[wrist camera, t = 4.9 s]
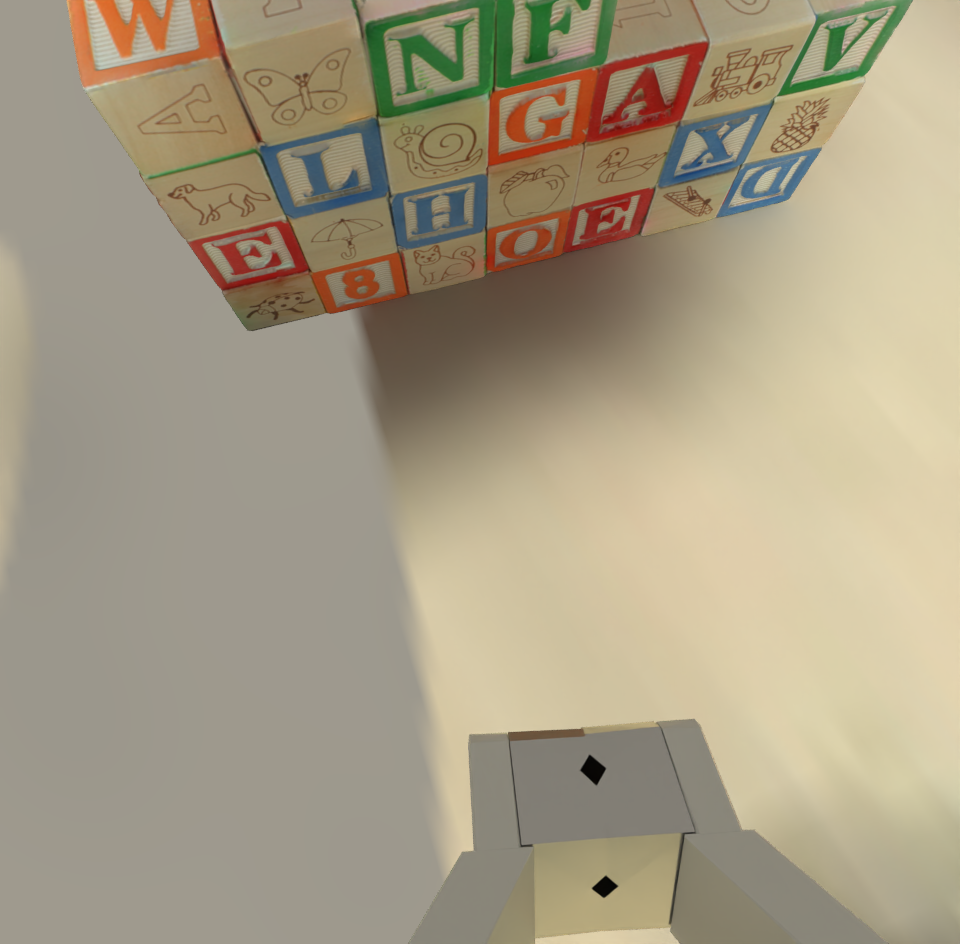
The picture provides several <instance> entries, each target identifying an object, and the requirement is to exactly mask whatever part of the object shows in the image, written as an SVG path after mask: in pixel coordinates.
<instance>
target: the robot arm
mask: <svg viewBox="0 0 960 944" xmlns="http://www.w3.org/2000/svg"><path fill="white" fill-rule="evenodd" d="M468 750H469V768H470V787H471V806H472V825H473V844H474V851H466V852H462V853H461V855H460V856H459V858H458V860H457V862H456V863H455V865H454V867H453V868H452V870H451V872H450V873H449V875H448V877H447V878H446V880H445V882H444V884H443V885H442V887H441V889H440V890H439V892H438V894H437V895H436V897H435V899H434V900H433V902H432V904H431V906H430V907H429V909H428V911H427V912H426V914H425V916H424V917H423V919H422V921H421V923H420V924H419V926H418V928H417V929H416V931H415V933H414V935H413V936H412V938H411V939H410V941H409V943H408V944H535V938H543V937H552V936H561V935H570V934H579V933H588V932H597V931H612V930H631V929H651V928H670V927H671V929H670V932H671V933H672V934H673V935H674V937H675V938H676V939H677V940H678V942H679V943H680V944H889V943H888V942H887V941H885V940H884V939H883V938H882V937H881V936H879V935H878V934H877V933H876V932H875V931H874V930H872V929H871V928H870V927H869V926H868V925H866V924H865V923H864V922H863V921H862V920H861V919H859V918H858V917H857V916H856V915H855V914H853V913H852V912H851V911H850V910H849V909H848V908H846V907H845V906H844V905H843V904H842V903H840V902H839V901H838V900H837V899H836V898H835V897H833V896H832V895H831V894H830V893H829V892H828V891H826V890H825V889H824V888H823V887H822V886H820V885H819V884H818V883H817V882H816V881H815V880H813V879H812V878H811V877H810V876H809V875H807V874H806V873H805V872H804V871H803V870H802V869H800V868H799V867H798V866H797V865H796V864H794V863H793V862H792V861H791V860H790V859H789V858H787V857H786V856H785V855H784V854H783V853H781V852H780V851H779V850H778V849H777V848H776V847H774V846H773V845H772V844H771V843H770V842H768V841H767V840H766V839H765V838H764V837H763V836H761V835H760V834H759V833H758V832H757V831H755V830H742V828H741V825H740V823H739V820H738V818H737V815H736V813H735V810H734V808H733V805H732V803H731V800H730V798H729V795H728V793H727V790H726V788H725V785H724V783H723V780H722V778H721V776H720V773H719V771H718V768H717V766H716V763H715V761H714V758H713V756H712V753H711V751H710V748H709V746H708V743H707V741H706V738H705V736H704V733H703V731H702V728H701V726H700V724H699V723H698V722H697V721H696V720H695V719H687V720H673V721H660V722H656V723H655V722H654V721H652V722H640V723H629V724H617V725H605V726H594V727H582V728H581V729H566V730H544V731H523V732H508V735H507V733H491V734H473V735H469V744H468Z"/></svg>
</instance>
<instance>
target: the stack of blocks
mask: <svg viewBox="0 0 960 944" xmlns="http://www.w3.org/2000/svg"><path fill="white" fill-rule="evenodd" d="M912 1H913V0H67V6H68V11H69V17H70V23H71V29H72V35H73V41H74V46H75V52H76V57H77V63H78V68H79V74H80V79H81V82H82V85H83V89H84V91H85V92H86V94H87V95H88V97H89V98H90V100H91V101H92V103H93V104H94V106H95V107H96V109H97V110H98V111H99V113H100V114H101V116H102V117H103V119H104V120H105V122H106V123H107V124H108V126H109V127H110V129H111V130H112V132H113V133H114V134H115V136H116V137H117V139H118V140H119V142H120V143H121V145H122V146H123V148H124V149H125V150H126V152H127V153H128V155H129V156H130V158H131V159H132V160H133V162H134V163H135V165H136V166H137V168H138V169H139V173H140V176H141V178H142V179H143V181H144V182H145V184H146V186H147V187H148V189H149V190H150V191H151V193H152V194H153V195H154V196H156V199H157V201H158V203H159V205H160V206H161V207H162V208H163V210H164V211H165V212H166V214H167V215H168V217H169V219H170V221H171V222H172V224H173V225H174V226H175V228H176V229H177V230H178V232H179V233H180V234H181V236H182V237H183V238H184V239H186V241H187V243H188V244H189V246H190V247H191V248H192V250H193V251H194V253H195V254H196V256H197V257H198V259H199V260H200V262H201V263H202V264H203V266H204V267H205V269H206V270H207V271H208V273H209V274H210V276H211V277H212V278H213V280H214V281H215V282H216V284H217V285H218V286H219V287H220V288H221V290H222V293H223V295H224V297H225V298H226V300H227V302H228V303H229V304H230V306H231V307H232V309H233V310H234V312H235V314H236V315H237V317H238V318H239V319H240V321H241V322H242V324H243V325H244V326H245V328H246V329H247V330H249V331H255V330H259V329H263V328H267V327H272V326H275V325H280V324H284V323H288V322H292V321H297V320H301V319H305V318H309V317H313V316H318V315H321V314H324V313H330V314H333V313H338V312H343V311H347V310H351V309H355V308H357V307H362V306H366V305H370V304H374V303H378V302H382V301H386V300H391V299H395V298H399V297H403V296H406V295H408V294H416V293H420V292H425V291H430V290H434V289H438V288H442V287H446V286H450V285H455V284H459V283H463V282H466V281H470V280H475V279H479V278H482V277H484V276H485V275H486V274H487V273H490V272H495V271H501V270H504V269H506V268H512V267H515V266H518V265H524V264H528V263H532V262H536V261H540V260H544V259H548V258H552V257H556V256H560V255H561V254H562V253H564V252H571V251H575V250H579V249H584V248H589V247H593V246H597V245H601V244H604V243H608V242H611V241H617V240H620V239H625V238H629V237H632V236H634V235H636V234H639V235H641V236H647V235H651V234H655V233H659V232H663V231H667V230H671V229H675V228H679V227H683V226H688V225H692V224H696V223H700V222H704V221H708V220H711V219H713V218H715V217H723V216H727V215H731V214H735V213H739V212H744V211H748V210H751V209H754V208H759V207H763V206H767V205H770V204H775V203H779V202H783V201H785V200H788V199H789V198H790V196H791V195H792V193H793V192H794V190H795V189H796V187H797V186H798V184H799V183H800V181H801V179H802V178H803V177H804V175H805V174H806V172H807V171H808V169H809V167H810V166H811V164H812V163H813V161H814V160H815V159H816V157H817V156H818V154H819V152H820V151H821V149H822V145H824V144H825V143H826V142H827V141H828V140H829V138H830V137H831V135H832V133H833V132H834V130H835V129H836V127H837V126H838V124H839V123H840V121H841V120H842V118H843V117H844V115H845V114H846V112H847V110H848V109H849V107H850V106H851V104H852V103H853V101H854V99H855V98H856V96H857V95H858V93H859V92H860V90H861V88H862V87H863V85H864V83H865V74H866V73H867V72H868V71H869V70H870V68H871V66H872V65H873V64H874V62H875V61H876V59H877V58H878V56H879V55H880V53H881V51H882V50H883V48H884V46H885V44H886V43H887V41H888V40H889V38H890V37H891V35H892V34H893V32H894V30H895V29H896V27H897V26H898V24H899V23H900V21H901V20H902V18H903V16H904V15H905V13H906V11H907V10H908V8H909V6H910V4H911V3H912Z"/></svg>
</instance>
